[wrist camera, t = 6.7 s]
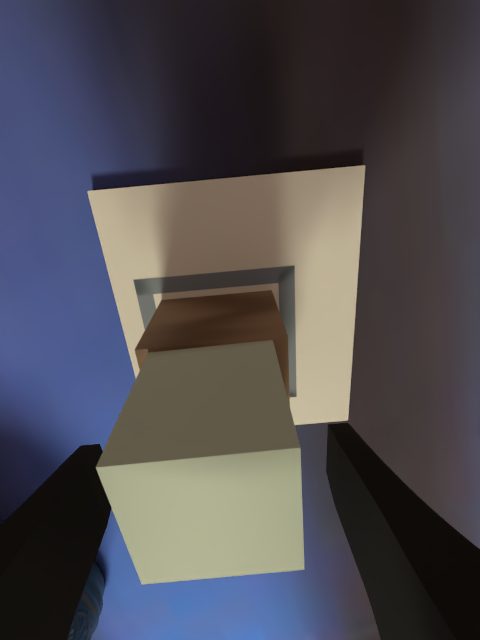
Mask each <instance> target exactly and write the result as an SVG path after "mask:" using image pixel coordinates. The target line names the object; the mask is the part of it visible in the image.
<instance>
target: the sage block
mask: <svg viewBox="0 0 480 640" xmlns="http://www.w3.org/2000/svg"><path fill="white" fill-rule="evenodd" d="M96 470H97V472H98V475H99V477H100V480H101V482H102V485H103V487H104V490H105V492H106V495H107V497H108V500H109V503H110V505H111V508H112V510H113V513H114V515H115V518H116V520H117V523H118V525H119V528H120V530H121V533H122V535H123V538H124V540H125V543H126V545H127V548H128V551H129V553H130V556H131V558H132V561H133V563H134V566H135V568H136V571H137V573H138V576H139V578H140V581H141V583H142V584H152V583H163V582H174V581H185V580H196V579H207V578H218V577H229V576H240V575H251V574H262V573H273V572H284V571H295V570H304V544H303V514H302V484H301V453H300V445H299V441H298V437H297V433H296V429H295V425H294V421H293V417H292V413H291V409H290V405H289V401H288V398H287V394H286V390H285V386H284V382H283V378H282V374H281V370H280V366H279V362H278V358H277V355H276V351H275V347H274V343H273V340H267V341H257V342H248V343H238V344H228V345H218V346H209V347H199V348H189V349H180V350H170V351H160V352H150V353H148V354H147V356H146V358H145V360H144V363H143V365H142V367H141V369H140V371H139V374H138V376H137V378H136V380H135V382H134V385H133V387H132V389H131V391H130V393H129V396H128V398H127V400H126V402H125V404H124V407H123V409H122V411H121V413H120V415H119V417H118V420H117V422H116V424H115V426H114V428H113V431H112V433H111V435H110V437H109V439H108V442H107V444H106V446H105V448H104V450H103V453H102V455H101V457H100V459H99V461H98V464H97V466H96Z"/></svg>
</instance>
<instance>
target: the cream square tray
mask: <svg viewBox="0 0 480 640" xmlns="http://www.w3.org/2000/svg"><path fill="white" fill-rule="evenodd" d="M364 177H365V165H362V166H351V167H340V168H329V169H318V170H308V171H297V172H286V173H275V174H265V175H254V176H243V177H232V178H222V179H211V180H200V181H189V182H178V183H168V184H157V185H146V186H135V187H125V188H114V189H103V190H92V191H87V193H88V196H89V200H90V204H91V208H92V212H93V216H94V219H95V223H96V227H97V231H98V235H99V239H100V243H101V246H102V250H103V254H104V258H105V262H106V266H107V269H108V273H109V277H110V281H111V285H112V289H113V292H114V296H115V300H116V304H117V308H118V312H119V316H120V319H121V323H122V327H123V331H124V335H125V339H126V342H127V346H128V350H129V354H130V358H131V362H132V365H133V369H134V373H135V377H136V378H137V376H138V374H139V371H140V370H139V366H138V362H137V358H136V354H135V348H136V346H137V344H138V342H139V341H140V339H141V337H142V335H143V333H144V331H145V329H146V328H147V326H148V324H149V322H150V320H151V318H152V317H153V315H154V313H155V311H156V309H157V307H158V305H159V304H160V302H161V300H167V299H178V298H189V297H201V296H212V295H223V294H234V293H245V292H256V291H268V290H272V292H273V295H274V298H275V301H276V304H277V307H278V309H279V312H280V315H281V318H282V321H283V324H284V326H285V329H286V332H287V335H288V354H289V392H290V409H291V413H292V417H293V421H294V425H300V424H312V423H323V422H335V421H347V420H348V413H349V399H350V384H351V369H352V354H353V340H354V325H355V310H356V295H357V280H358V266H359V251H360V236H361V221H362V206H363V192H364Z"/></svg>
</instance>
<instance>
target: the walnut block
mask: <svg viewBox="0 0 480 640" xmlns="http://www.w3.org/2000/svg"><path fill="white" fill-rule="evenodd" d="M267 340H273V343H274V347H275V351H276V355H277V358H278V362H279V366H280V370H281V374H282V378H283V382H284V386H285V390H286V394H287V398H288V401H289V405H290V392H289V354H288V335H287V332H286V329H285V326H284V324H283V321H282V318H281V315H280V312H279V309H278V307H277V304H276V301H275V298H274V295H273V292H272V290H268V291H256V292H245V293H234V294H223V295H212V296H201V297H189V298H178V299H167V300H161V302H160V304H159V305H158V307H157V309H156V311H155V313H154V315H153V317H152V318H151V320H150V322H149V324H148V326H147V328H146V329H145V331H144V333H143V335H142V337H141V339H140V341H139V342H138V344H137V346H136V348H135V354H136V358H137V362H138V366H139V370H140V369H141V367H142V365H143V363H144V360H145V358H146V356H147V354H148V353H150V352H160V351H170V350H180V349H189V348H199V347H209V346H218V345H228V344H238V343H248V342H257V341H267Z"/></svg>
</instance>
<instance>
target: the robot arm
mask: <svg viewBox="0 0 480 640" xmlns="http://www.w3.org/2000/svg"><path fill="white" fill-rule="evenodd" d="M102 453H103V452H102V449H101V446H100V444H94V445H83V446H80V447H79V448H78V449H77V450H76V451H75V452H74V453H73V454H72V455H71V456H70V457H69V458H68V459H67V460H66V461H65V462H64V463H63V464H62V465H61V466H60V467H59V468H58V469H57V470H56V471H55V472H54V473H53V474H52V475H51V476H50V477H49V478H48V479H47V480H46V481H45V482H44V483H43V484H42V485H41V486H40V487H39V488H38V489H37V490H36V491H35V492H34V493H33V494H32V495H31V496H30V497H29V498H28V499H27V500H26V501H25V502H24V503H23V504H22V505H21V506H20V507H19V508H18V509H17V510H16V511H15V512H14V513H13V514H12V515H11V516H10V517H9V518H7V519H6V520H5V521H4V522H3V523H2V524H1V525H0V640H67V638H68V634H69V631H70V628H71V625H72V622H73V619H74V616H75V613H76V610H77V607H78V604H79V601H80V599H81V596H82V593H83V590H84V588H85V585H86V582H87V580H88V577H89V574H90V571H91V569H92V566H93V563H94V560H95V558H96V555H97V552H98V549H99V546H100V544H101V541H102V538H103V535H104V532H105V529H106V527H107V523H108V520H109V516H110V512H111V505H110V503H109V500H108V497H107V495H106V492H105V490H104V487H103V485H102V482H101V480H100V477H99V475H98V472H97V470H96V466H97V464H98V461H99V459H100V457H101V455H102ZM326 472H327V476H328V480H329V484H330V488H331V492H332V496H333V500H334V504H335V507H336V510H337V513H338V515H339V518H340V521H341V524H342V526H343V529H344V532H345V534H346V537H347V540H348V543H349V545H350V548H351V551H352V553H353V556H354V559H355V562H356V564H357V567H358V570H359V572H360V575H361V578H362V580H363V583H364V586H365V589H366V592H367V595H368V598H369V601H370V604H371V607H372V610H373V613H374V617H375V620H376V624H377V628H378V631H379V635H380V638H381V640H480V549H479V548H477V547H476V546H475V545H474V544H472V543H471V542H470V541H469V540H468V539H466V538H465V537H464V536H463V535H461V534H460V533H459V532H458V531H457V530H455V529H454V528H453V527H452V526H451V525H450V524H448V523H447V522H446V521H445V520H444V519H443V518H441V517H440V516H439V515H438V514H437V513H436V512H435V511H434V510H432V509H431V508H430V507H429V506H428V505H427V504H426V503H425V502H424V501H423V500H422V499H421V498H419V497H418V496H417V495H416V494H415V493H414V492H413V491H412V490H411V489H410V488H409V487H408V486H407V485H406V484H405V483H404V482H403V481H402V480H401V479H400V478H399V477H398V476H397V475H396V474H395V473H394V472H393V471H392V470H391V469H390V468H389V467H388V466H387V465H386V464H385V463H384V462H383V461H382V460H381V459H380V458H379V457H378V456H377V454H376V453H375V452H374V451H373V450H372V449H371V448H370V447H369V446H368V445H367V444H366V442H365V441H364V440H363V439H362V438H361V437H360V436H359V435H358V433H357V432H356V431H355V430H354V429H353V428H352V427H351V425H349V424H348V423H340V424H328V437H327V466H326Z"/></svg>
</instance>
